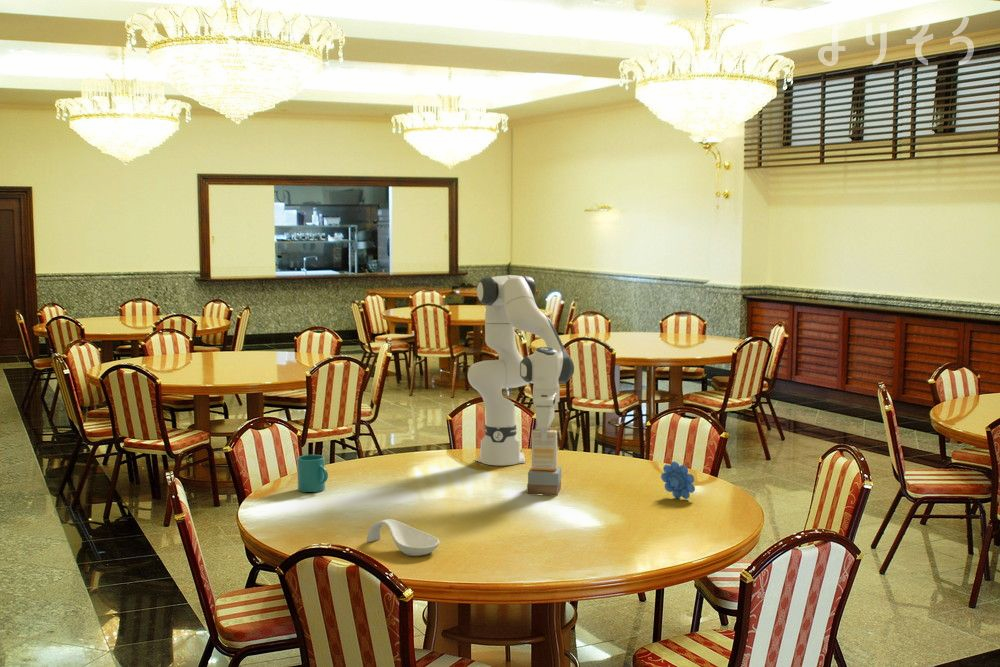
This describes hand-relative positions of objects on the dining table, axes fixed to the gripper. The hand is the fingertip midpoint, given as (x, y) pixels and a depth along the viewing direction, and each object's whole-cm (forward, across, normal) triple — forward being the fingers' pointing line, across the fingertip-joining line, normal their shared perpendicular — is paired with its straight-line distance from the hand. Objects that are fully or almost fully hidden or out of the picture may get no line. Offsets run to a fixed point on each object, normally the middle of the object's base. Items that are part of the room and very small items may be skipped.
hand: (545, 437), depth 334 cm
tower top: (+15, +1, 0) cm, 15 cm away
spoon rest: (+18, +68, -32) cm, 78 cm away
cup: (+19, +11, -77) cm, 80 cm away
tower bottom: (+19, +1, 0) cm, 19 cm away
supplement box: (+11, +1, 0) cm, 11 cm away
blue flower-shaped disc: (+18, +4, +43) cm, 47 cm away
